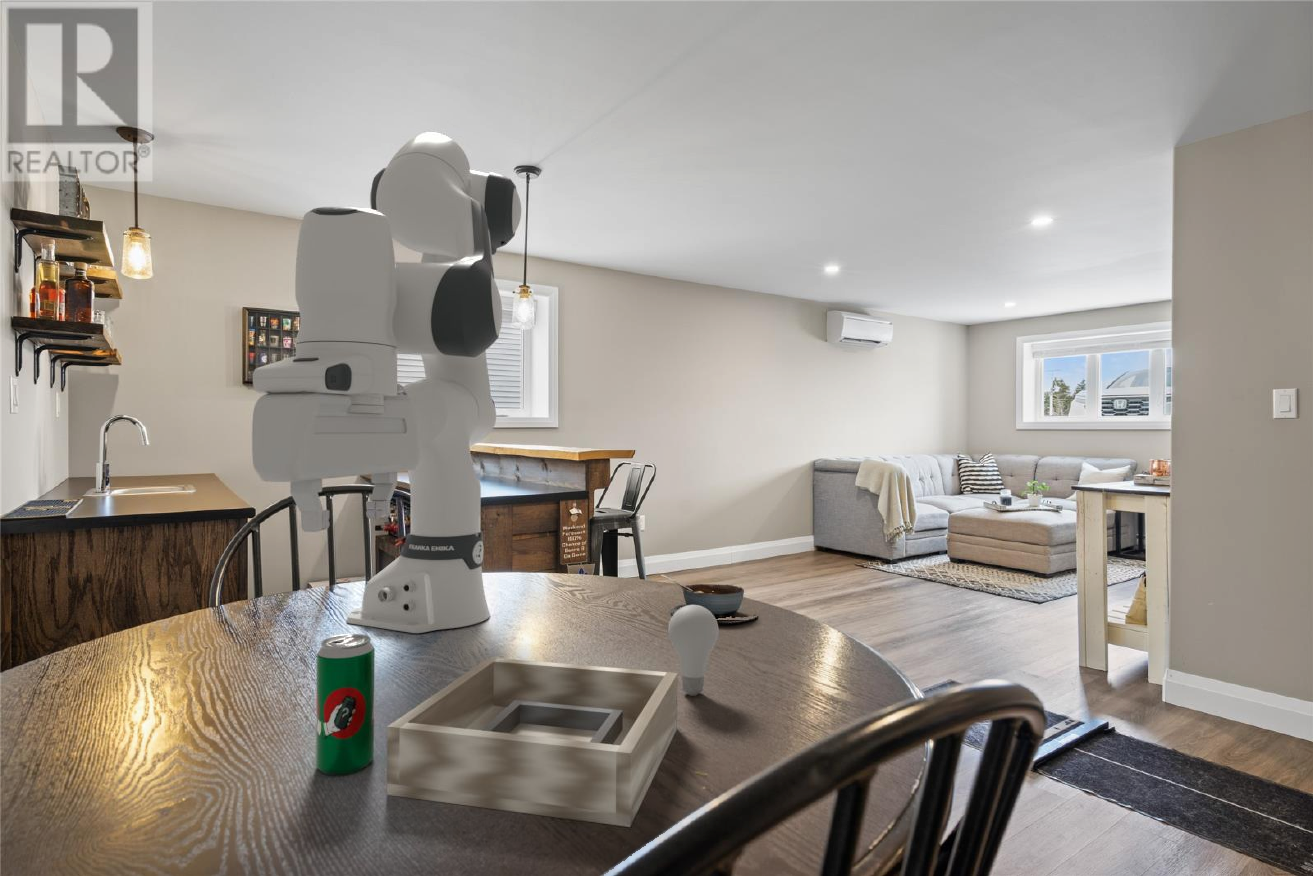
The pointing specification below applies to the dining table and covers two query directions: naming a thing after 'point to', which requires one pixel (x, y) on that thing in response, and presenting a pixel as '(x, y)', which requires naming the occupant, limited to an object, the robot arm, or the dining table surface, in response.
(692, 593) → the soup bowl
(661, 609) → the dining table surface
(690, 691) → the lightbulb
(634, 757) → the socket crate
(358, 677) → the soda can
